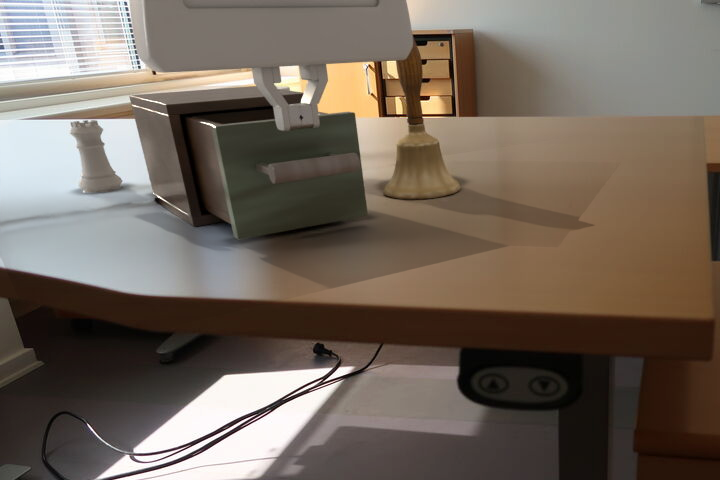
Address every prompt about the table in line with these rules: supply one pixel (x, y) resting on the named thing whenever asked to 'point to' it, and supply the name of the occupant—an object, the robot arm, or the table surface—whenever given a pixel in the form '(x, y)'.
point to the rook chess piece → (93, 158)
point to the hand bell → (417, 144)
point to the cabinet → (169, 146)
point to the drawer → (275, 170)
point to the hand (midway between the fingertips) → (298, 128)
